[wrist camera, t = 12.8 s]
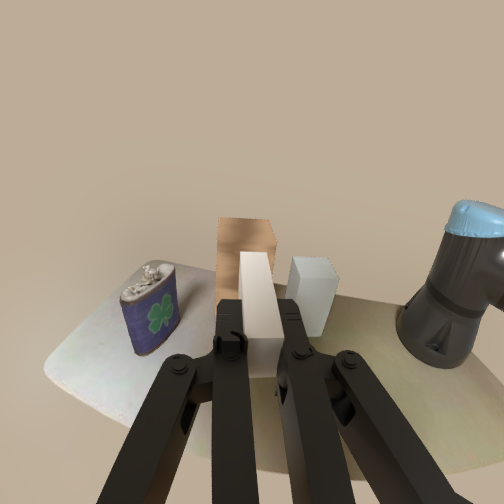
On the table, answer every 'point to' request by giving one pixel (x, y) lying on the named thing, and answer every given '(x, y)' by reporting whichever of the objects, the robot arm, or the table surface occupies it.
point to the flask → (151, 309)
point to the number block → (312, 291)
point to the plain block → (232, 243)
